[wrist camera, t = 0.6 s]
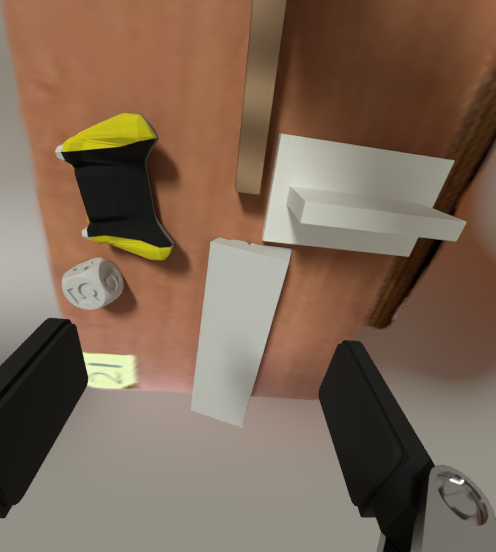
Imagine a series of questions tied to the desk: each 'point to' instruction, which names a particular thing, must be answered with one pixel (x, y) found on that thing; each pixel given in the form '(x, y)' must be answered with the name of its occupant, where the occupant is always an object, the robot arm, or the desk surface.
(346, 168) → the stand
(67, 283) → the die
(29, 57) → the desk surface
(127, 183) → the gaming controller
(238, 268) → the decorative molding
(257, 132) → the walnut batten
